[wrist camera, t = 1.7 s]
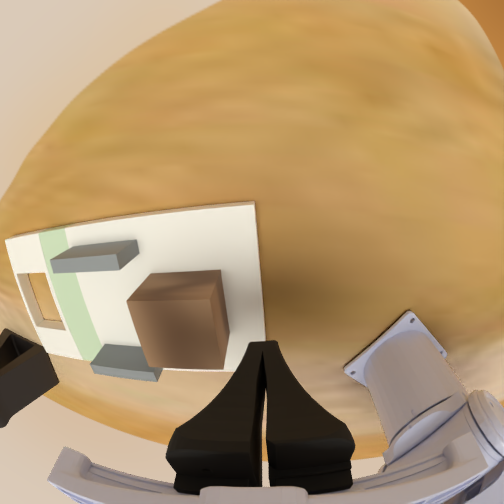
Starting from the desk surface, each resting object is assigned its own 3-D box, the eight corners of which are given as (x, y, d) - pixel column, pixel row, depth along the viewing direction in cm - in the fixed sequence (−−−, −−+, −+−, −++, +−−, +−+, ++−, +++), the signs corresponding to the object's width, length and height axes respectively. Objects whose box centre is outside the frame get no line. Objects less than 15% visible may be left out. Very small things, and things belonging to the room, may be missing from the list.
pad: (75, 223, 19) (64, 228, 17) (116, 354, 23) (110, 363, 21) (48, 228, 19) (38, 233, 17) (89, 351, 23) (83, 359, 22)
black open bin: (18, 360, 26) (-24, 409, 14) (5, 327, 24) (-45, 376, 12) (59, 381, 26) (17, 443, 14) (46, 347, 24) (-8, 411, 12)
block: (220, 269, 18) (209, 299, 14) (229, 332, 19) (223, 369, 15) (150, 273, 18) (126, 300, 14) (166, 332, 20) (149, 366, 16)
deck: (254, 200, 18) (252, 214, 13) (267, 358, 22) (267, 397, 18) (14, 235, 19) (-16, 250, 15) (53, 345, 23) (32, 368, 19)
